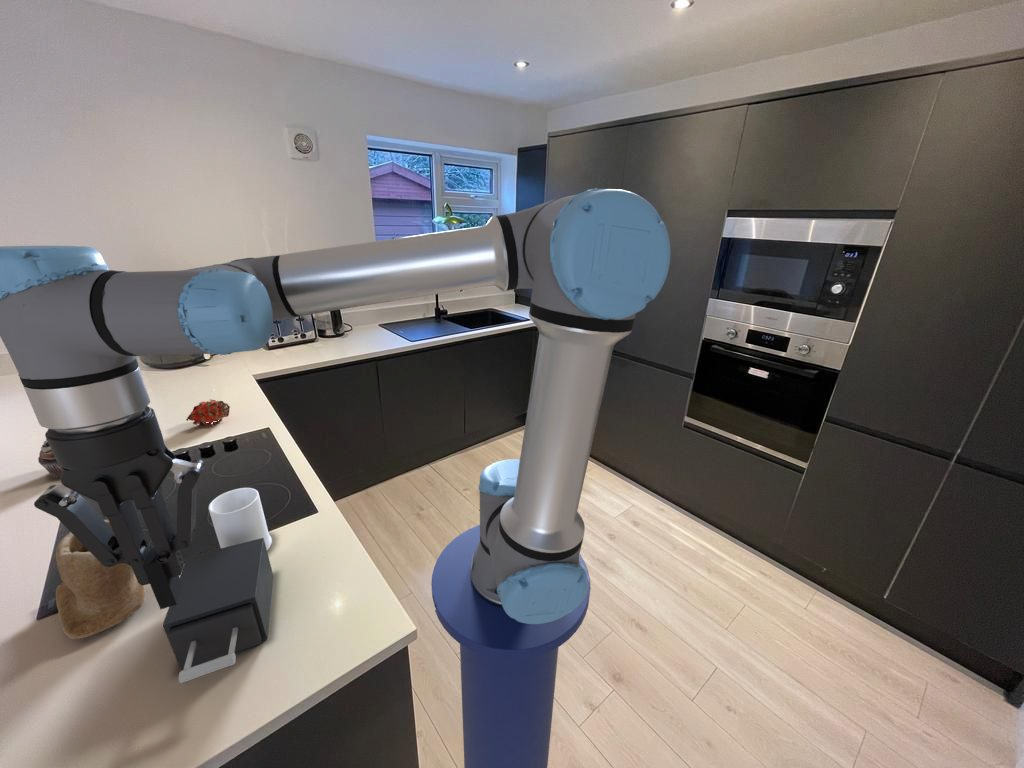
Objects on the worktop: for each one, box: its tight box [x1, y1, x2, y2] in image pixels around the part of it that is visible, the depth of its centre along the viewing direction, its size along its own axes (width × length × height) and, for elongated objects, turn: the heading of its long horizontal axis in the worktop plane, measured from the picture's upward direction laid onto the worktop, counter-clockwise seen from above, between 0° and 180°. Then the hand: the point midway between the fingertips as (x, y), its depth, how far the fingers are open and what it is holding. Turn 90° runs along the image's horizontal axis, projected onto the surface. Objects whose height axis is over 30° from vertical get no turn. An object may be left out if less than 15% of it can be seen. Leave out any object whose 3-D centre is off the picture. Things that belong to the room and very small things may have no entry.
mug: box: [208, 487, 273, 551], centre depth 80 cm, size 12×8×12 cm
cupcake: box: [37, 438, 62, 480], centre depth 103 cm, size 10×10×10 cm
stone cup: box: [55, 519, 145, 640], centre depth 66 cm, size 15×12×15 cm
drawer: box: [166, 603, 262, 684], centre depth 61 cm, size 18×10×7 cm, turn 26°
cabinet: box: [162, 538, 274, 670], centre depth 65 cm, size 14×11×9 cm
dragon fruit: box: [185, 398, 231, 426], centre depth 130 cm, size 8×8×12 cm
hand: (171, 597), depth 46 cm, fingers closed
